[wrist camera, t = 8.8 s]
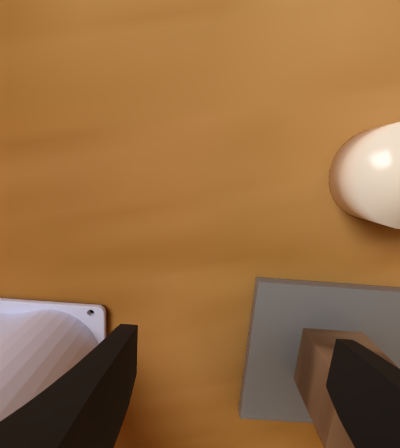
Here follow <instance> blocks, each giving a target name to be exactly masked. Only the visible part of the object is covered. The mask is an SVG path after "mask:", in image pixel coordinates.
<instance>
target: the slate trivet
mask: <svg viewBox="0 0 400 448" xmlns="http://www.w3.org/2000/svg"><path fill="white" fill-rule="evenodd" d="M303 328H311V329H326V330H340V331H354V332H363V333H364V334H365V335H366V336H367V337H368V338H369V339H370V340H371V341H372V342H373V343H374V344H375V345H376V346H377V347H378V348H379V349H380V350H381V351H382V352H383V353H384V354H385V355H386V356H387V357H388V358H389V359H390V360H391V361H392V362H393V363H394V364H395V365H396V366H397V367H398V368H399V369H400V287H387V286H373V285H359V284H345V283H331V282H317V281H303V280H289V279H275V278H261V277H256V281H255V289H254V296H253V304H252V311H251V319H250V326H249V334H248V341H247V349H246V356H245V363H244V371H243V378H242V386H241V393H240V401H239V408H238V410H239V416H240V418H241V419H257V420H273V421H290V422H306V423H313V422H312V419H311V417H310V415H309V413H308V410H307V408H306V406H305V404H304V401H303V399H302V397H301V395H300V392H299V390H298V388H297V386H296V383H295V381H294V374H295V368H296V363H297V358H298V353H299V347H300V342H301V337H302V331H303Z"/></svg>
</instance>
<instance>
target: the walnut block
mask: <svg viewBox="0 0 400 448" xmlns="http://www.w3.org/2000/svg"><path fill="white" fill-rule="evenodd" d="M336 339H350V340H354V341H356V342H358V343H360V344H361V345H363V346H365V347H366V348H368V349H369V350H371V351H373V352H374V353H376V354H377V355H379V356H380V357H382V358H383V359H385V360H387V361H388V362H390V363H391V364H393V365H394V366H396V365H395V364H394V363H393V362H392V361H391V360H390V359H389V358H388V357H387V356H386V355H385V354H384V353H383V352H382V351H381V350H380V349H379V348H378V347H377V346H376V345H375V344H374V343H373V342H372V341H371V340H370V339H369V338H368V337H367V336H366V335H365V334H364V333H363V332H354V331H340V330H326V329H311V328H303V331H302V337H301V342H300V347H299V353H298V358H297V363H296V368H295V374H294V381H295V383H296V386H297V388H298V390H299V392H300V395H301V397H302V399H303V401H304V404H305V406H306V408H307V410H308V413H309V415H310V417H311V419H312V422H313V424H314V426H315V428H316V430H317V433H318V435H319V437H320V439H321V442H322V444H323V446H324V448H355V447H354V445H353V443H352V442H351V440H350V438H349V436H348V434H347V432H346V430H345V429H344V427H343V425H342V423H341V421H340V419H339V417H338V415H337V412H336V410H335V408H334V406H333V403H332V401H331V398H330V396H329V393H328V391H327V388H326V382H327V377H328V373H329V368H330V364H331V359H332V355H333V350H334V346H335V341H336ZM396 367H397V366H396ZM397 368H398V367H397Z"/></svg>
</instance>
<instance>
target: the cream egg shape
mask: <svg viewBox="0 0 400 448" xmlns="http://www.w3.org/2000/svg"><path fill="white" fill-rule="evenodd" d="M329 188H330V192H331V195H332V197H333V199H334V201H335V202H336V204H337V205H338V206H339V207H340V208H341V209H342V210H343V211H345V212H346V213H348V214H350V215H352V216H355V217H359V218H362V219H365V220H369V221H372V222H375V223H378V224H382V225H385V226H388V227H392V228H396V229H400V122H398V123H393V124H389V125H385V126H381V127H377V128H372V129H368V130H365V131H362V132H360V133H358V134H356V135H354V136H353V137H351V138H350V139H349V140H348V141H346V142H345V143H344V144H343V145H342V147H341V148H340V149H339V150H338V152H337V153H336V155H335V157H334V159H333V161H332V164H331V167H330V171H329Z"/></svg>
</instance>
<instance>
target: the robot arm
mask: <svg viewBox="0 0 400 448" xmlns="http://www.w3.org/2000/svg"><path fill="white" fill-rule="evenodd" d="M90 310H93V311H94V313H91V312H90ZM137 332H138V325H128V324H120V325H119V326H118V327H117V328H115V329H114V330H113V331H112V332H111V333H110V334H109V335H108V336H107V337H106V309H105V308H104V307H103V306H102V305H94V304H79V303H65V302H50V301H36V300H21V299H7V298H0V448H114V445H115V442H116V440H117V437H118V434H119V431H120V428H121V426H122V423H123V420H124V417H125V414H126V411H127V408H128V406H129V402H130V398H131V394H132V390H133V386H134V382H135V378H136V372H137ZM326 388H327V391H328V393H329V396H330V398H331V401H332V403H333V406H334V408H335V410H336V412H337V415H338V417H339V419H340V421H341V423H342V425H343V427H344V429H345V430H346V432H347V434H348V436H349V438H350V440H351V442H352V443H353V445H354V447H355V448H400V369H399V368H397V367H396V366H394V365H393V364H391V363H390V362H388V361H387V360H385V359H383V358H382V357H380V356H379V355H377V354H376V353H374V352H373V351H371V350H369V349H368V348H366V347H365V346H363V345H361V344H360V343H358V342H356V341H354V340H350V339H336V341H335V346H334V350H333V355H332V359H331V364H330V368H329V373H328V377H327V382H326Z"/></svg>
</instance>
